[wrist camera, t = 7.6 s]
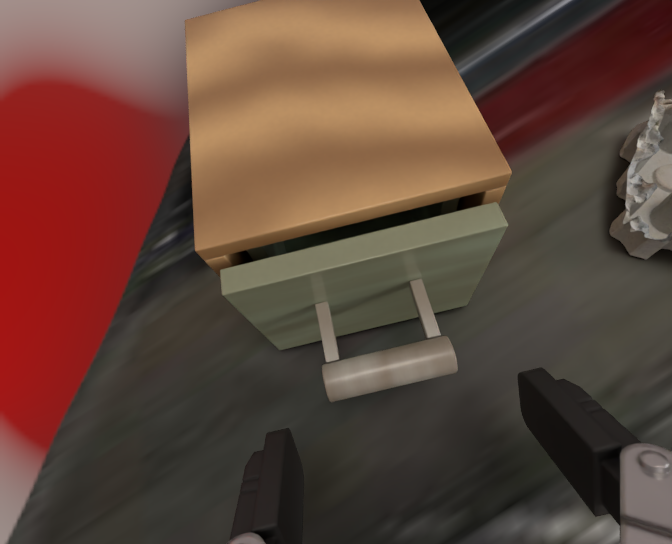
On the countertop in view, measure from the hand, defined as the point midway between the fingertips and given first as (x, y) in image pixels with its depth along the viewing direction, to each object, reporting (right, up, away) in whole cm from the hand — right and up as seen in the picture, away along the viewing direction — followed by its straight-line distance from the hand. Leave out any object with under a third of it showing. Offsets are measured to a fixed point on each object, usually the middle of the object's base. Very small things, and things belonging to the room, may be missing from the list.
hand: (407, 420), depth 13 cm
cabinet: (-2, +10, +15) cm, 18 cm away
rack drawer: (-1, +6, +12) cm, 14 cm away
